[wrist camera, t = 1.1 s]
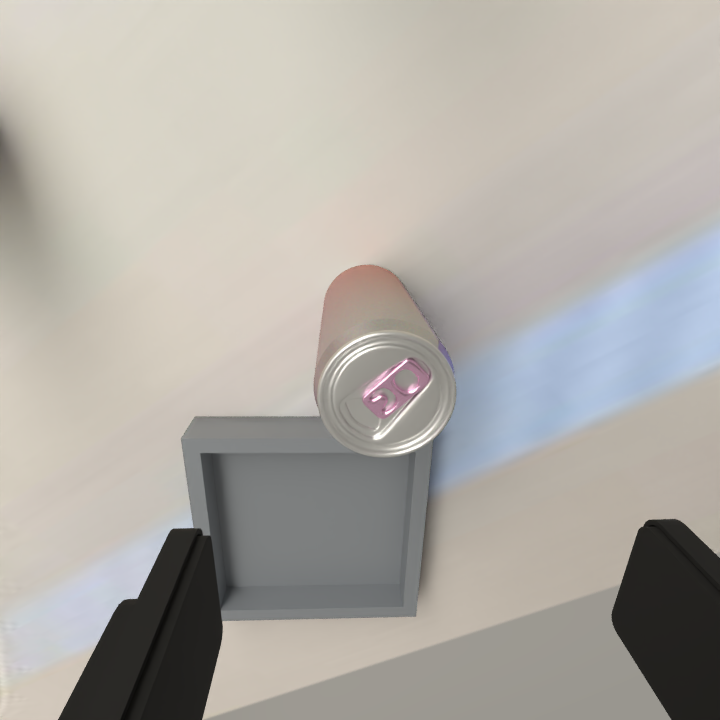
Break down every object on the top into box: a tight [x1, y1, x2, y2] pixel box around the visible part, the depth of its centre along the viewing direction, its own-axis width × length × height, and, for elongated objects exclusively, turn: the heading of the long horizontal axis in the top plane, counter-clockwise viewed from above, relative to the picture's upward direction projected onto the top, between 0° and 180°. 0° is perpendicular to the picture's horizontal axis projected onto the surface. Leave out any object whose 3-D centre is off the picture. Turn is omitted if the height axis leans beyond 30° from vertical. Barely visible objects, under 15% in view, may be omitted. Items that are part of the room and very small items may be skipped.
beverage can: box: [314, 265, 456, 458], centre depth 24 cm, size 6×6×15 cm
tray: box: [181, 417, 433, 621], centre depth 36 cm, size 18×18×3 cm
